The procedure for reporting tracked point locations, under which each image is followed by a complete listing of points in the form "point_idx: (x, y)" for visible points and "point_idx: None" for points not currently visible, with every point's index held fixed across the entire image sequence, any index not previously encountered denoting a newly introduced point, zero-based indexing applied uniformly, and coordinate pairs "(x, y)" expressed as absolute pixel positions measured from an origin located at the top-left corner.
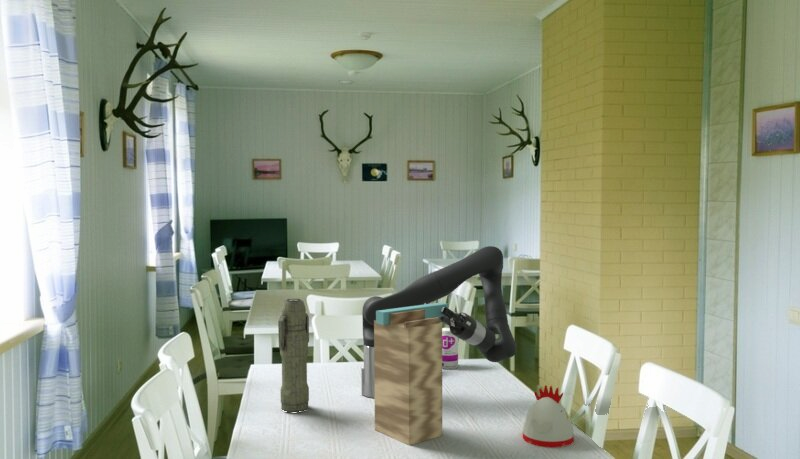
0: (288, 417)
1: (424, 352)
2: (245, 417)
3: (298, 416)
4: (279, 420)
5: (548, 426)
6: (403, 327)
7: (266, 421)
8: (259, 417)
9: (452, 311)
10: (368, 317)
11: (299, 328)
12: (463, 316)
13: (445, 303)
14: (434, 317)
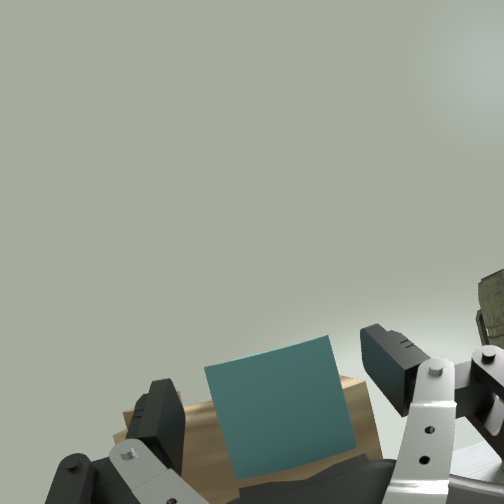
0: (480, 473)
1: None
2: (481, 442)
3: (484, 479)
4: (466, 471)
5: None
6: (185, 405)
7: (463, 462)
8: (481, 451)
9: (139, 436)
10: None
11: (493, 333)
12: (57, 493)
13: (239, 359)
14: (492, 443)
